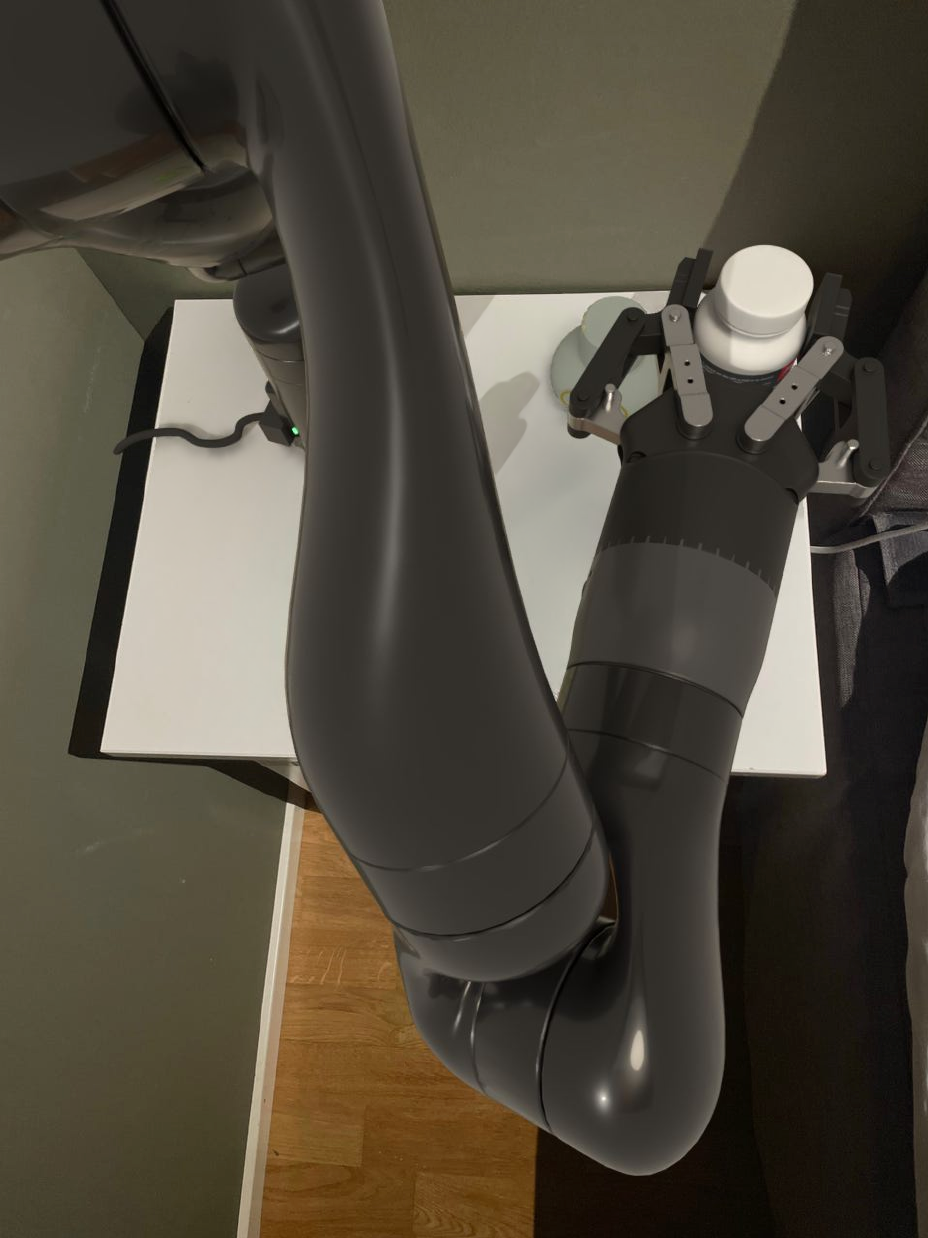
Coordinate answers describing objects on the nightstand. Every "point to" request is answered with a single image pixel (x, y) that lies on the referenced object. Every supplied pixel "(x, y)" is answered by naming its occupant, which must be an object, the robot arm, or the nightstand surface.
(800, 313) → the pill bottle
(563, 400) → the air freshener
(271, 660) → the nightstand surface
